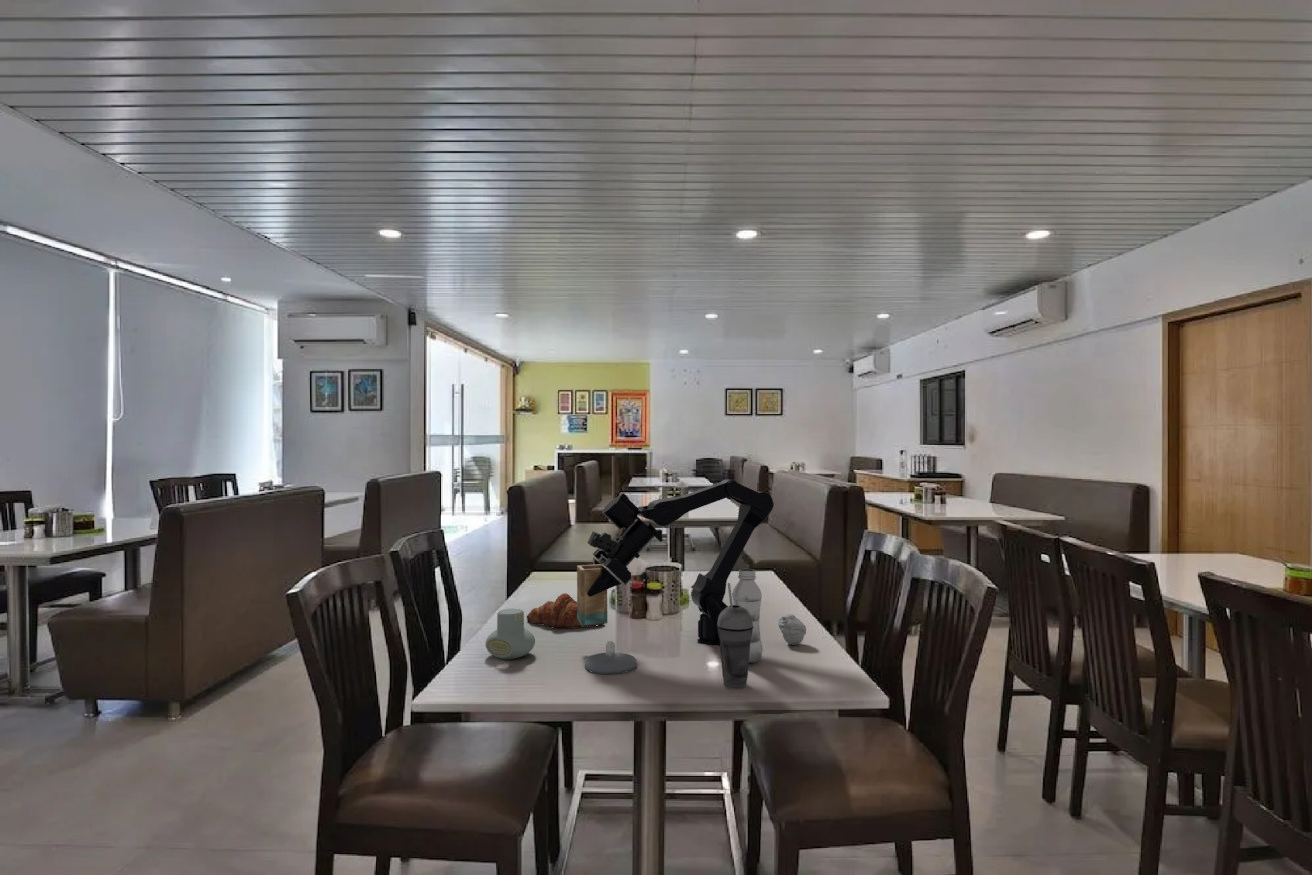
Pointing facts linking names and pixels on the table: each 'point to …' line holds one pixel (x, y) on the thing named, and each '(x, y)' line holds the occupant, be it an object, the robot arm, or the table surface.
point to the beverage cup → (735, 644)
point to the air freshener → (510, 636)
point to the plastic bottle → (750, 608)
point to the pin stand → (610, 661)
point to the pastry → (557, 613)
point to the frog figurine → (792, 629)
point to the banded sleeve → (594, 606)
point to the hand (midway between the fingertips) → (586, 592)
